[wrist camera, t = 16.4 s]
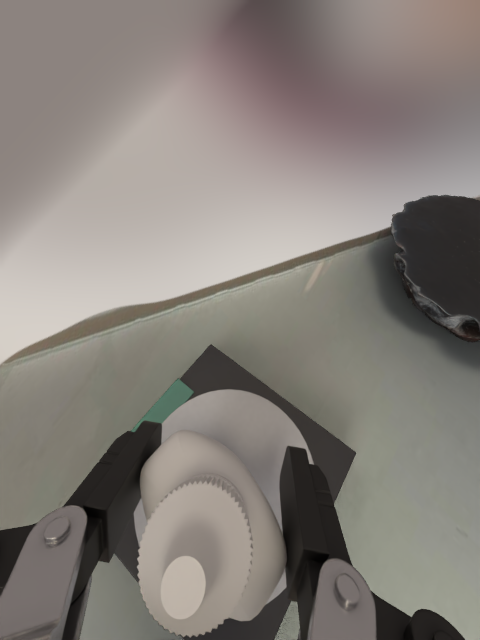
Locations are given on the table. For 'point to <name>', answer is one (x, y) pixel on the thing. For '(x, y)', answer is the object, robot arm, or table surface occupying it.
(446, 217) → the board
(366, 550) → the table surface
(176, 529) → the eye dropper bottle
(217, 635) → the scale
